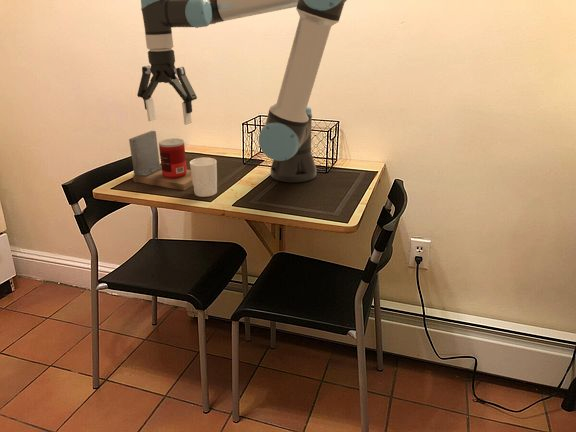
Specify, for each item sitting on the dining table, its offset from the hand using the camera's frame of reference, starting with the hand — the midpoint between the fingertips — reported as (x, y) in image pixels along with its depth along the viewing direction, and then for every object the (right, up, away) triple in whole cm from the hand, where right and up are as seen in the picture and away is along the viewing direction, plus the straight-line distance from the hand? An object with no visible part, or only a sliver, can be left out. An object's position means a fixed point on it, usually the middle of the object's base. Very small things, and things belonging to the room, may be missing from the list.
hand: (169, 122), depth 153 cm
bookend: (-9, -14, +11) cm, 20 cm away
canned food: (0, -16, +7) cm, 17 cm away
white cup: (+11, -22, -2) cm, 25 cm away
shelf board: (-2, -17, +9) cm, 19 cm away
